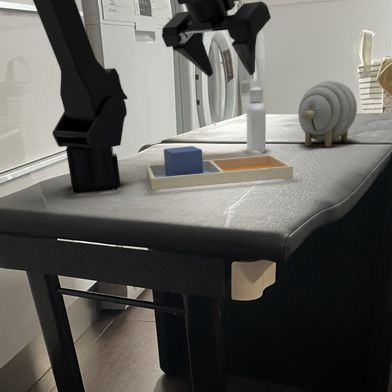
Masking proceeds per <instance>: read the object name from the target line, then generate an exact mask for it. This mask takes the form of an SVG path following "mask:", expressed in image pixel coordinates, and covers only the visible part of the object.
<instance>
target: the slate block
mask: <svg viewBox="0 0 392 392" xmlns="http://www.w3.org/2000/svg"><path fill="white" fill-rule="evenodd" d="M163 157H164V164H165V172H166V177H168V176H180V175H191V174H203V161H204V160H203V149H201V148H198V147H197V146H194V145H187V146H179V147H178V146H177V147H170V148H164V149H163Z"/></svg>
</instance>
